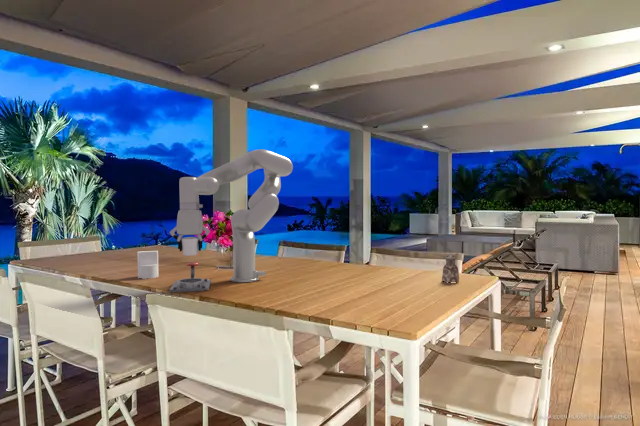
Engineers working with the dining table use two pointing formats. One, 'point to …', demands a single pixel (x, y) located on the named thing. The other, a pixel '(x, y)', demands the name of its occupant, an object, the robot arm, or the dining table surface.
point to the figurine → (450, 270)
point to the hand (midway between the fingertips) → (190, 250)
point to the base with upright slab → (147, 264)
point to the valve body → (191, 282)
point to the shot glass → (190, 245)
